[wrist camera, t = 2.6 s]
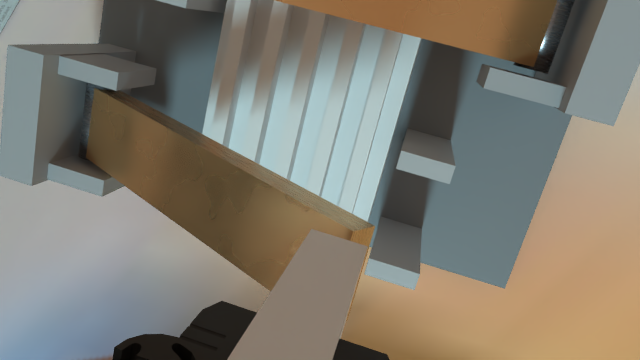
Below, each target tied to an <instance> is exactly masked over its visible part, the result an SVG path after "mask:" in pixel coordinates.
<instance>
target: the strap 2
mask: <svg viewBox="0 0 640 360" xmlns="http://www.w3.org/2000/svg"><path fill="white" fill-rule="evenodd" d="M275 1H279V2H282V3H286V4H290V5H294V6H298V7H302V8H306V9H310V10H314V11H317V12H321V13H325V14H329V15H333V16H337V17H341V18H345V19H349V20H352V21H356V22H360V23H364V24H368V25H372V26H376V27H380V28H384V29H387V30H391V31H395V32H399V33H403V34H407V35H411V36H415V37H419V38H422V39H426V40H430V41H434V42H438V43H442V44H446V45H450V46H454V47H457V48H461V49H465V50H469V51H473V52H477V53H481V54H485V55H489V56H492V57H496V58H500V59H504V60H508V61H512V62H514V64H513V65H515V66H519V67H523V68H527V69H531V70H535V71H538V72H542V73H546V74H548V72H549V70H550V67H551V64H552V62H553V59H554V56H555V53H556V51H557V48H558V45H559V42H560V40H561V37H562V34H563V32H564V29H565V26H566V23H567V21H568V18H569V15H570V12H571V10H572V7H573V4H574V2H575V0H275Z"/></svg>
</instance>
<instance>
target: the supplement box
mask: <svg viewBox="0 0 640 360" xmlns="http://www.w3.org/2000/svg"><path fill="white" fill-rule="evenodd" d="M18 2H19V0H0V33H1V31H2V29H3V28H4V26H5V24H6V23H7V21H8V19H9V17H10V16H11V14H12V12H13V11H14V9H15V7H16V6H17V4H18Z"/></svg>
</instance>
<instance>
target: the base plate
mask: <svg viewBox="0 0 640 360" xmlns="http://www.w3.org/2000/svg"><path fill="white" fill-rule="evenodd" d="M513 64H514V62H512V61H508V60H504V59H500V58H496V57H492V56H489V55H485V54H481V53H477V52H473V51H469V50H465V49H461V48H457V47H454V46H450V45H446V44H442V43H438V42H434V41H430V40H426V39H422V38H419V37H415V36H411V35H407V34H403V33H399V32H395V31H391V30H387V29H384V28H380V27H376V26H372V25H368V24H364V23H360V22H356V21H352V20H349V19H345V18H341V17H337V16H333V15H329V14H325V13H321V12H317V11H314V10H310V9H306V8H302V7H298V6H294V5H290V4H286V3H282V2H279V1H275V0H104V5H103V13H102V22H101V30H100V38H99V44H40V45H8V48H7V62H6V76H5V89H4V103H3V117H2V131H1V145H0V176H2V177H5V178H9V179H12V180H15V181H18V182H21V183H24V184H27V185H30V186H33V185H35V184H38V183H41V182H44V181H46V180H51V181H54V182H58V183H61V184H64V185H67V186H70V187H73V188H76V189H80V190H83V191H86V192H89V193H92V194H95V195H98V196H104V195H106V194H109V193H111V192H113V191H115V190H117V189H119V188H121V187H123V186H124V185H123V184H122V183H120V182H119V181H118V180H116V179H115V178H113V177H112V176H111V175H109V174H108V173H106V172H105V171H104V170H102V169H101V168H100V167H98V166H97V165H95V164H94V163H93V162H91V161H88V160H84V159H82V158H80V157H79V156H78V152H79V144H80V135H81V127H82V118H83V109H84V101H85V92H86V84H87V82H88V83H91V84H94V85H98V86H101V87H105V88H108V89H112V90H115V91H118V90H120V91H122V92H124V93H126V94H128V95H130V96H131V97H133V98H135V99H137V100H139V101H141V102H143V103H145V104H146V105H148V106H150V107H152V108H154V109H156V110H158V111H160V112H162V113H163V114H165V115H167V116H169V117H171V118H173V119H175V120H177V121H178V122H180V123H182V124H184V125H186V126H188V127H190V128H192V129H194V130H195V131H197V132H199V133H201V134H203V135H205V136H207V137H209V138H210V139H212V140H214V141H216V142H218V143H220V144H222V145H224V146H226V147H227V148H229V149H231V150H233V151H235V152H237V153H239V154H241V155H242V156H244V157H246V158H248V159H250V160H252V161H254V162H256V163H258V164H259V165H261V166H263V167H265V168H267V169H269V170H271V171H273V172H274V173H276V174H278V175H280V176H282V177H284V178H286V179H288V180H290V181H291V182H293V183H295V184H297V185H299V186H301V187H303V188H305V189H307V190H308V191H310V192H312V193H314V194H316V195H318V196H320V197H322V198H323V199H325V200H327V201H329V202H331V203H333V204H335V205H337V206H339V207H340V208H342V209H344V210H346V211H348V212H350V213H352V214H354V215H355V216H357V217H359V218H361V219H363V220H365V221H367V222H369V223H371V224H372V225H374V226H375V229H374V232H373V235H372V239H371V242H370V245H369V247H372V249H371V253H370V256H369V260H368V263H367V267H366V270H365V275H369V276H372V277H375V278H378V279H381V280H384V281H387V282H391V283H394V284H397V285H400V286H403V287H406V288H410V289H413V290H415V287H416V284H417V281H418V278H419V275H420V262H421V263H424V264H427V265H430V266H434V267H437V268H440V269H443V270H447V271H450V272H453V273H456V274H459V275H463V276H466V277H469V278H472V279H476V280H479V281H482V282H485V283H488V284H492V285H495V286H498V287H501V288H505V286H506V284H507V281H508V279H509V276H510V274H511V271H512V268H513V266H514V263H515V261H516V258H517V256H518V253H519V250H520V248H521V245H522V243H523V240H524V237H525V235H526V232H527V230H528V227H529V225H530V222H531V219H532V217H533V214H534V212H535V209H536V207H537V204H538V201H539V199H540V196H541V194H542V191H543V189H544V186H545V183H546V181H547V178H548V176H549V173H550V171H551V168H552V165H553V163H554V160H555V158H556V155H557V153H558V150H559V147H560V145H561V142H562V140H563V137H564V134H565V132H566V129H567V127H568V124H569V122H570V119H571V116H572V115H573V116H577V117H581V118H585V119H588V120H592V121H596V122H600V123H603V124H607V125H611V126H614V124H615V122H616V119H617V117H618V114H619V112H620V109H621V107H622V105H623V102H624V100H625V97H626V95H627V93H628V90H629V88H630V85H631V83H632V80H633V78H634V76H635V73H636V71H637V68H638V66H639V64H640V0H575V2H574V4H573V7H572V10H571V12H570V15H569V18H568V21H567V23H566V26H565V29H564V32H563V34H562V37H561V40H560V42H559V45H558V48H557V51H556V53H555V56H554V59H553V62H552V64H551V67H550V70H549V72H548V74H546V73H542V72H538V71H535V70H531V69H527V68H523V67H519V66H515V65H513Z"/></svg>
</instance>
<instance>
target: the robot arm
mask: <svg viewBox="0 0 640 360" xmlns="http://www.w3.org/2000/svg"><path fill="white" fill-rule="evenodd" d="M367 248H368V246H365V245H362V244H358V243H355V242H352V241H349V240H346V239H342V238H339V237H336V236H333V235H330V234H326V233H323V232H320V231H317V230H314V229H311V230H310V232H309V233H308V235H307V237H306V238H305V240H304V241H303V243H302V244H301V246H300V247H299V249H298V251H297V252H296V254H295V255H294V257H293V258H292V260H291V261H290V263H289V264H288V266H287V268H286V269H285V271H284V272H283V274H282V275H281V277H280V278H279V280H278V281H277V283H276V285H275V286H274V288H273V289H272V291H271V292H270V294H269V295H268V297H267V299H266V300H265V302H264V303H263V305H262V306H261V308H260V309H259V311H258V312H257V313H256V312H253V311H250V310H247V309H244V308H241V307H238V306H235V305H232V304H230V303H227V302H224V301H221V302H218V303H216V304H214V305H212V306H210V307H207V308H205V309H203V310H202V311H201V312H200V313H199V314H198V316H197V317H196V318H195V319H194V320H193V321H192V323H191V324H190V327H189V326H188V327H187V328H186V330H185V331H184V332H183V333H182V334H181V336H180V338H178V337H174V336H169V335H164V334H144V335H140V336H136V337H133V338H129V339H127V340H125V341H123V342H122V343H120V344H119V345H117V346H116V347H114V354H113V360H389V358H388V356H387V354H384V353H381V352H378V351H375V350H372V349H369V348H366V347H363V346H360V345H357V344H354V343H351V342H348V341H345V340H342V339H341V335H342V332H343V329H344V325H345V322H346V318H347V315H348V312H349V308H350V305H351V302H352V298H353V295H354V291H355V288H356V285H357V281H358V278H359V275H360V271H361V268H362V265H363V261H364V258H365V254H366V251H367Z"/></svg>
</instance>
